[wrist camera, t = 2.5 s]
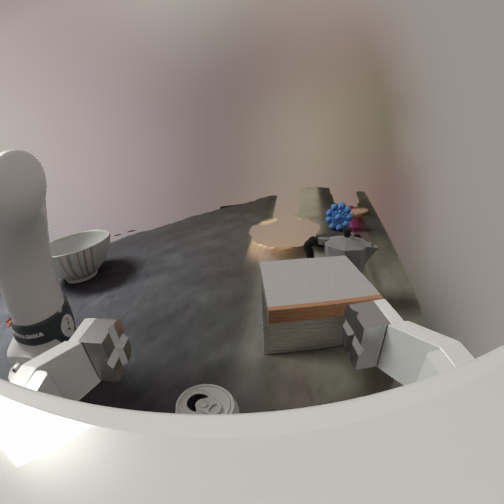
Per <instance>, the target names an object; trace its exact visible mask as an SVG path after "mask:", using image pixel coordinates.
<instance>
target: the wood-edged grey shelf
mask: <svg viewBox="0 0 504 504" xmlns="http://www.w3.org/2000/svg"><path fill="white" fill-rule="evenodd" d="M259 266H260V286H261V308H262V330H263V347H264V354H265V355H266V354H277V353H287V352H296V351H304V350H312V349H320V348H327V347H333V346H340V345H342V326H343V324H344V323H345V319H346V318H345V316H344V310H345V307H346V305H350V304H357V303H363V302H369V301H373V300H378V299H383V297H382V296H381V294H380V293H379V292H378V291H377V290H376V289H375V288H374V286H373V285H372V284H371V283H370V282H369V281H368V280H367V279H366V277H365V276H364V275H363V274H362V273H361V272H360V271H359V270H358V269H357V268H356V266H355V265H354V264H353V263H352V262H351V261H350V260H349V259H348V258H347V257H346V256H332V257H319V258H306V259H293V260H279V261H265V262H259Z"/></svg>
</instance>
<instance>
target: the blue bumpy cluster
mask: <svg viewBox="0 0 504 504" xmlns="http://www.w3.org/2000/svg"><path fill="white" fill-rule="evenodd" d="M331 209H332V210H331ZM331 209H329V210H327V211H326V215H327V216H329V217H327V218H326V220H325V222H326V223H327V224H329V228H330V229H335V228H336V230H337V231H341V230H342V229H343V227H345V228H346V227H348V226H349V221H350V220H352V218H353V215H352V214H350V212H351V208H350V207H349V206H347V207H345V203H343V202H342V203H340V204H339V205H337V204H333V205H332V206H331Z"/></svg>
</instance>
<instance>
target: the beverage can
mask: <svg viewBox="0 0 504 504" xmlns="http://www.w3.org/2000/svg"><path fill="white" fill-rule="evenodd" d="M175 413H178V414H240V412H239V407H238V404H237V402H236V401H235V399H234V398H233V397H232V395H231V394H230V393H229V392H228V391H227V390H226V389H224V388H222V387H220V386H217V385H213V384H201V385H196V386H193V387H191V388H189V389H187V390H185V391H184V392H183V393H182V394H181V395H180V396H179V398H178V399H177V402H176V410H175Z"/></svg>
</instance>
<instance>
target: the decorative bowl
mask: <svg viewBox="0 0 504 504" xmlns="http://www.w3.org/2000/svg"><path fill="white" fill-rule="evenodd" d="M49 244H50V251H51V256H52V260H53V264H54V267H55V271H56V274H57V277H59V278H62V279H65V280H66V281H67V282H68V283H80V282H84V281H86V280H89V279H91V278H92V277H94V276H95V275H96V274H97V273H98V268H99V267H100V266H101V265H102V263H103V262H104V260H105V258H106V256H107V253H108V249H109V244H110V233H109V231H107V230H89V231H83V232H79V233H75V234H71V235H68V236H65V237H62V238H60V239H57V240H55V241H53V242H51V243H49Z"/></svg>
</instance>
